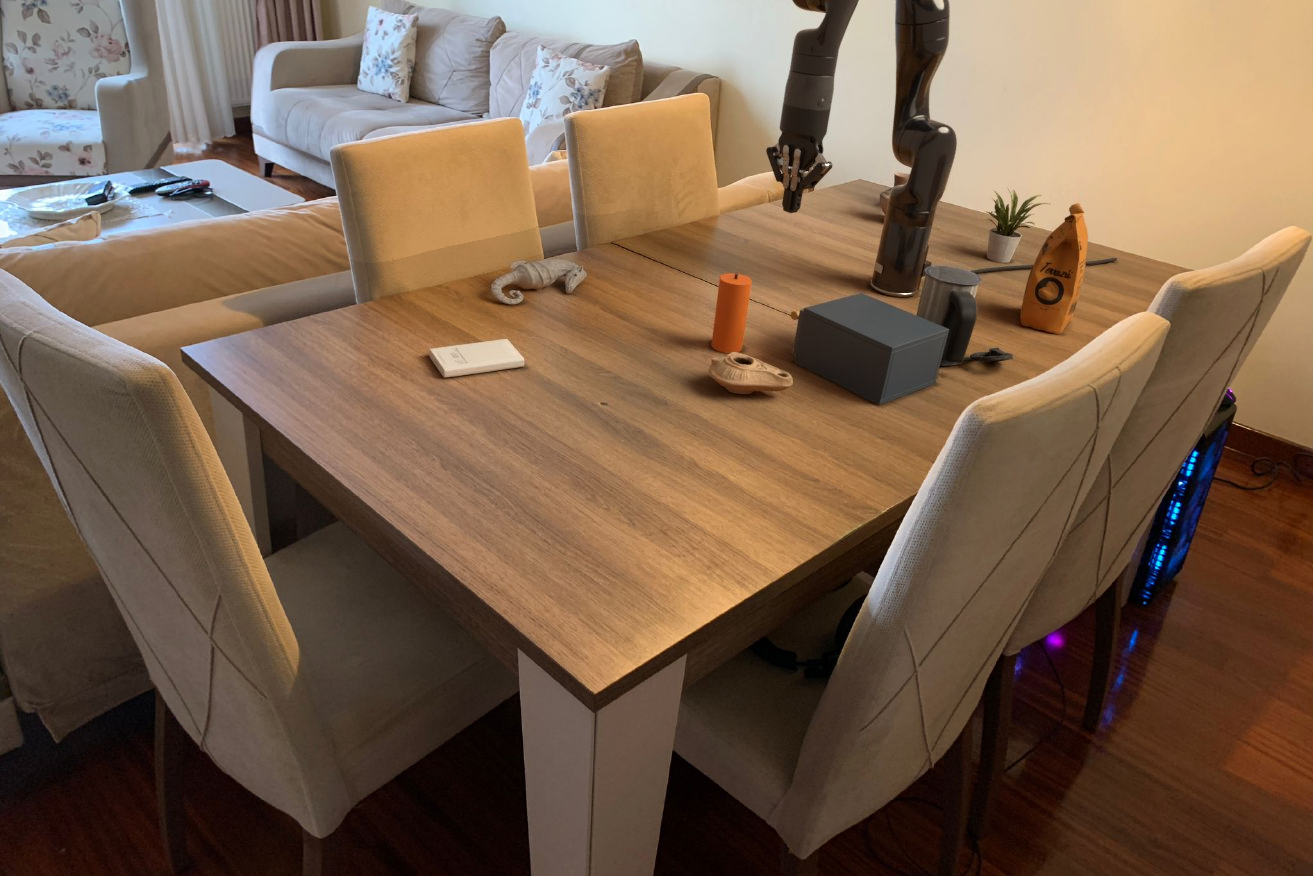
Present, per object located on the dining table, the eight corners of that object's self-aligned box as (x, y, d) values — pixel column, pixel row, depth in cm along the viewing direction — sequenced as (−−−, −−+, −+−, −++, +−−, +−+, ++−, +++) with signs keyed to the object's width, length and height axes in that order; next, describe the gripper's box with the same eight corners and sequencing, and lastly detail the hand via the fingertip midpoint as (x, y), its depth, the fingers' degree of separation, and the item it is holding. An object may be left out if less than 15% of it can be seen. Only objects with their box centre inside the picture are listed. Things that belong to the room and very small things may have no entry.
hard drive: (524, 368, 140) (444, 379, 134) (506, 347, 146) (429, 356, 140) (524, 358, 139) (444, 369, 134) (506, 337, 145) (428, 346, 140)
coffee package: (1009, 324, 174) (1043, 210, 164) (1022, 306, 184) (1054, 197, 173) (1063, 338, 170) (1102, 222, 160) (1073, 319, 180) (1110, 208, 169)
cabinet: (794, 362, 150) (803, 307, 146) (850, 344, 159) (861, 292, 154) (879, 405, 139) (892, 347, 134) (935, 383, 148) (949, 329, 143)
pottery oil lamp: (786, 409, 134) (772, 373, 130) (713, 411, 141) (697, 377, 136) (801, 369, 140) (788, 333, 135) (730, 373, 146) (715, 339, 142)
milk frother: (894, 347, 160) (913, 265, 152) (965, 339, 166) (986, 260, 158) (946, 382, 148) (970, 296, 141) (1020, 373, 155) (1046, 290, 147)
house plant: (1042, 260, 213) (1063, 190, 205) (1029, 274, 203) (1051, 201, 195) (981, 245, 219) (1000, 177, 211) (965, 259, 209) (984, 187, 201)
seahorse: (526, 308, 158) (598, 266, 171) (478, 271, 160) (552, 233, 173) (521, 330, 161) (591, 287, 174) (474, 293, 164) (546, 254, 177)
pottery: (866, 221, 230) (876, 173, 224) (904, 204, 248) (913, 159, 242) (909, 232, 224) (920, 183, 219) (944, 213, 243) (955, 168, 237)
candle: (727, 338, 157) (736, 266, 150) (748, 349, 153) (759, 276, 147) (704, 344, 154) (713, 271, 147) (726, 355, 150) (736, 281, 144)
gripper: (855, 109, 142) (835, 219, 150) (792, 94, 150) (776, 199, 159) (823, 112, 137) (804, 225, 146) (760, 95, 146) (746, 203, 154)
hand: (790, 211), depth 152 cm, fingers closed
